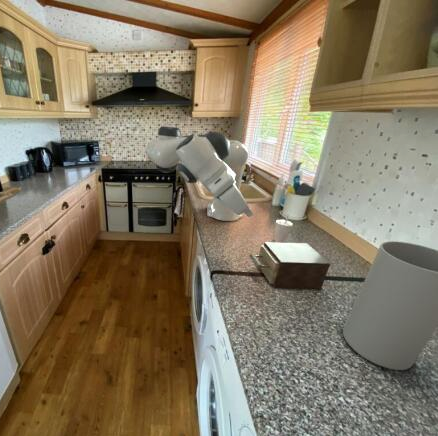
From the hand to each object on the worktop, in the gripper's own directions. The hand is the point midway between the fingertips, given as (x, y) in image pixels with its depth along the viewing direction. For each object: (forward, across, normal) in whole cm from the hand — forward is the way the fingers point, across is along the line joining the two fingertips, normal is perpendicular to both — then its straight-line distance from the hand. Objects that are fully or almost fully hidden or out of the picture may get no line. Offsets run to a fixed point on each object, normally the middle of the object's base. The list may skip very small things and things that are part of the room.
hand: (250, 214), depth 73 cm
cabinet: (+27, -7, -5) cm, 29 cm away
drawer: (+24, -6, -7) cm, 26 cm away
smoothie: (+28, -32, -2) cm, 43 cm away
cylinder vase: (+38, +18, +2) cm, 42 cm away
